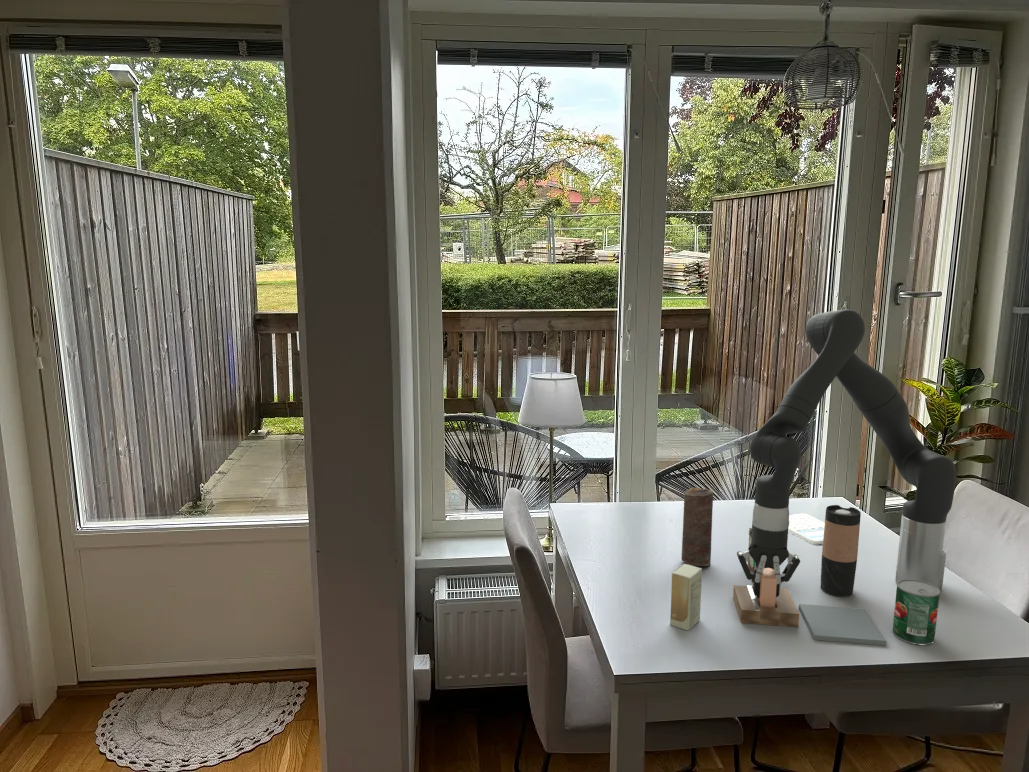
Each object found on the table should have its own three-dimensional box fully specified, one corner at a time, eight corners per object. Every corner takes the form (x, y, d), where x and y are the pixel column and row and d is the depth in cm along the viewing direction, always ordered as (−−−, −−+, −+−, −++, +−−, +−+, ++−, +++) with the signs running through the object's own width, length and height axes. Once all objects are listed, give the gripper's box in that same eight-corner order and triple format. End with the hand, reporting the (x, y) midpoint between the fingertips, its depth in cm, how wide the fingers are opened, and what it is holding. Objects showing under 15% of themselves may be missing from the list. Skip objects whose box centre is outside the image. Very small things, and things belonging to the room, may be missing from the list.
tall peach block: (769, 605, 165) (771, 567, 164) (774, 617, 159) (776, 579, 158) (755, 604, 166) (757, 567, 164) (760, 616, 160) (762, 578, 158)
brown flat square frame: (786, 601, 167) (787, 587, 167) (798, 627, 156) (799, 612, 155) (733, 597, 169) (733, 584, 169) (740, 622, 158) (741, 608, 157)
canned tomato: (884, 627, 156) (889, 579, 154) (919, 625, 156) (924, 578, 155) (906, 646, 148) (911, 596, 146) (943, 645, 149) (949, 595, 147)
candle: (698, 572, 183) (702, 496, 179) (674, 563, 188) (678, 489, 185) (716, 564, 187) (720, 490, 184) (692, 555, 193) (696, 483, 190)
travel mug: (833, 599, 169) (840, 517, 165) (812, 585, 176) (818, 506, 172) (861, 595, 171) (868, 514, 167) (839, 581, 178) (845, 503, 174)
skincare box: (682, 614, 161) (684, 562, 159) (700, 620, 159) (703, 567, 156) (668, 625, 156) (671, 572, 154) (687, 631, 154) (689, 577, 152)
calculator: (804, 517, 223) (805, 511, 223) (853, 541, 204) (853, 535, 204) (768, 522, 219) (768, 516, 219) (814, 547, 200) (814, 540, 200)
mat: (864, 612, 162) (864, 608, 162) (885, 645, 148) (886, 640, 148) (798, 608, 164) (799, 603, 164) (813, 639, 151) (814, 635, 150)
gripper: (799, 519, 162) (794, 591, 165) (734, 515, 164) (730, 587, 167) (807, 531, 154) (802, 607, 157) (739, 527, 156) (735, 602, 159)
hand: (765, 596), depth 162 cm, fingers closed on tall peach block, 2 cm apart
